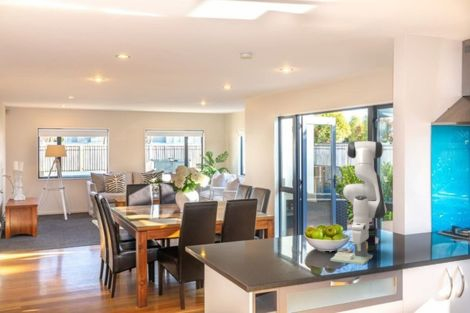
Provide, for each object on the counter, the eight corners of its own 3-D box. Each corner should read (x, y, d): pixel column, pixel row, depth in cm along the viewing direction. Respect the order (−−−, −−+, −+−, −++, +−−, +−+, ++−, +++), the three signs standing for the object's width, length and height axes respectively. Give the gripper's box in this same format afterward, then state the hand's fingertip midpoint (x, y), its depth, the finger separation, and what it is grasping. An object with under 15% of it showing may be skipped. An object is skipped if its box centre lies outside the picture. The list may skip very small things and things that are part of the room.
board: (341, 253, 259) (341, 246, 259) (372, 257, 250) (372, 249, 250) (330, 260, 242) (330, 253, 242) (363, 264, 233) (363, 256, 233)
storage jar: (376, 253, 258) (376, 228, 258) (359, 253, 260) (359, 227, 260) (375, 250, 268) (374, 225, 268) (358, 249, 270) (358, 225, 270)
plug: (356, 254, 251) (356, 240, 251) (368, 255, 248) (368, 241, 248) (355, 255, 248) (354, 241, 248) (366, 257, 245) (366, 242, 245)
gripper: (360, 222, 258) (360, 245, 259) (350, 227, 241) (350, 252, 241) (371, 222, 255) (371, 246, 255) (362, 228, 238) (362, 253, 238)
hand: (361, 249), depth 248 cm, fingers open, 7 cm apart
